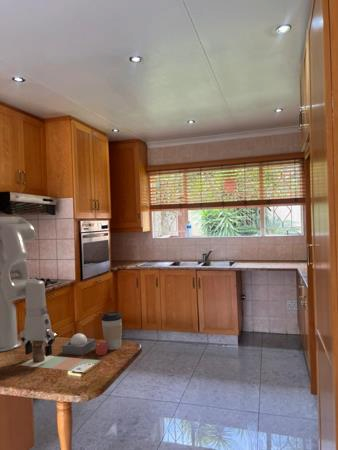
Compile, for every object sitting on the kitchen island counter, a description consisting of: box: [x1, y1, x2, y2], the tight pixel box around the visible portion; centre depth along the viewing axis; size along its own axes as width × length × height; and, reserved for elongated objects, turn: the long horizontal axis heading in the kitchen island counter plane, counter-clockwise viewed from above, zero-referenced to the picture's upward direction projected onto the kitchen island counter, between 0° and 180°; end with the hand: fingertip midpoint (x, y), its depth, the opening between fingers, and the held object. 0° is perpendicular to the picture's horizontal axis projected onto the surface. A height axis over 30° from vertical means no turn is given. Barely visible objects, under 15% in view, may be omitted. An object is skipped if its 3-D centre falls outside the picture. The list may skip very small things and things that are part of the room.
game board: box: [20, 354, 103, 374], centre depth 138 cm, size 30×11×1 cm, turn 70°
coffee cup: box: [100, 311, 123, 351], centre depth 155 cm, size 9×9×15 cm
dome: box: [70, 332, 88, 346], centre depth 151 cm, size 7×7×7 cm
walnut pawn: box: [32, 341, 45, 363], centre depth 141 cm, size 4×4×9 cm
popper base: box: [61, 338, 97, 356], centre depth 151 cm, size 10×10×4 cm
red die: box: [95, 341, 108, 356], centre depth 147 cm, size 4×4×4 cm
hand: (38, 354), depth 141 cm, fingers open, 9 cm apart
